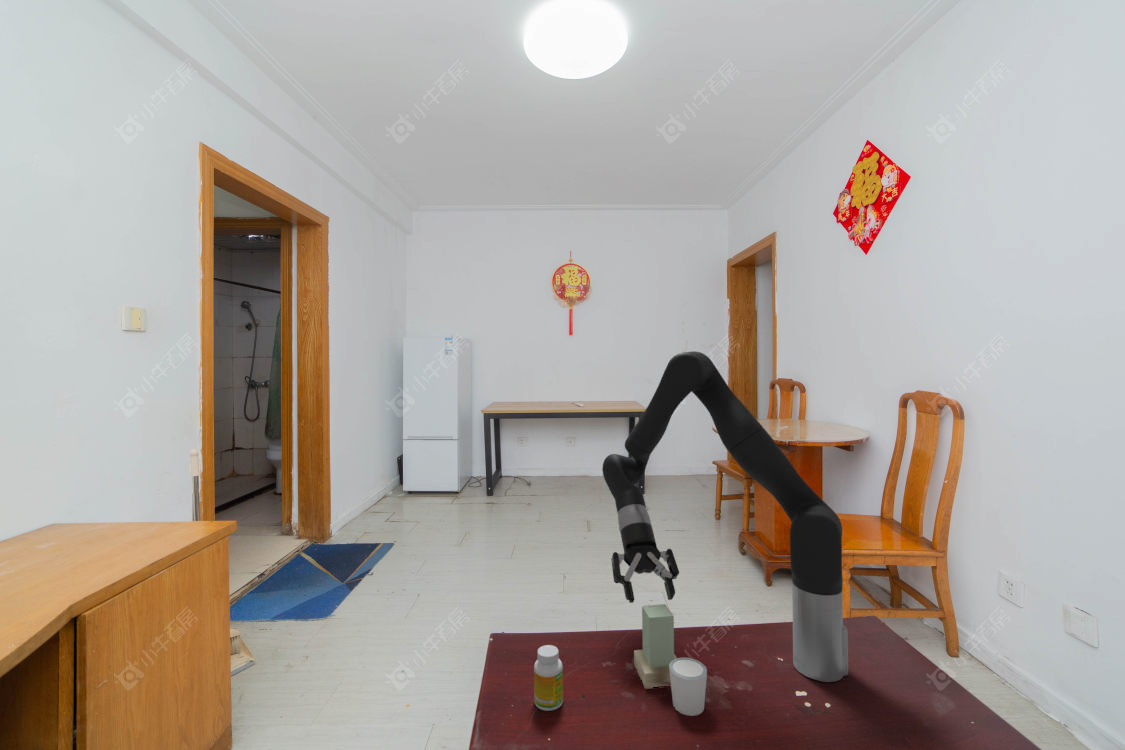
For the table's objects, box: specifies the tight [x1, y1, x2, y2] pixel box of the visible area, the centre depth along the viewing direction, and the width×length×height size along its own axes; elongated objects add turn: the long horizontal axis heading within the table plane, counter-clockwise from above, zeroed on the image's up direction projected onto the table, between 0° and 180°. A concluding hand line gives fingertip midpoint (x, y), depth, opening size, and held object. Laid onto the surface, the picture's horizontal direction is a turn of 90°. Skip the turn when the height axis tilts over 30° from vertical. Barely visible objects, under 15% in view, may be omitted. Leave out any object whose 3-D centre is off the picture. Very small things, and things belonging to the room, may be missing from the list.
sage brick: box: [641, 603, 675, 668], centre depth 100 cm, size 5×5×10 cm
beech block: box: [633, 649, 678, 690], centre depth 100 cm, size 8×8×3 cm
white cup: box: [669, 657, 708, 717], centre depth 90 cm, size 7×7×7 cm
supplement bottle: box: [533, 644, 564, 712], centre depth 92 cm, size 5×5×10 cm
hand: (651, 600), depth 103 cm, fingers open, 8 cm apart
